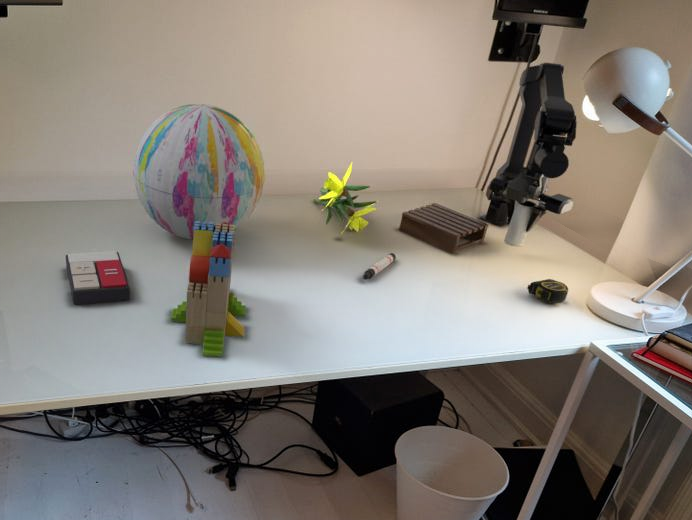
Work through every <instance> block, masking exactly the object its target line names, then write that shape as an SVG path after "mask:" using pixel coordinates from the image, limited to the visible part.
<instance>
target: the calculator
mask: <svg viewBox="0 0 692 520" xmlns="http://www.w3.org/2000/svg"><path fill="white" fill-rule="evenodd" d="M65 267H66V274H67V278H68V283H69V289H70V295H71V299H72V300H71V301H72V304H73V305H85V304H99V303H100V304H101V303H109V302H110V303H111V302H121V301H122V302H123V301H130V297H131V296H130V295H131V294H130V293H131V292H130V291H131V290H130V289H131V288H130V285H129V281H128V278H127V275H126V272H125V268H124V266H123V262H122V260H121V256H120V253H119V252H118V251H116V250H115V251H113V250H111V251H97V252H96V251H93V252H77V253H76V252H75V253H68V254H66V255H65Z"/></svg>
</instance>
